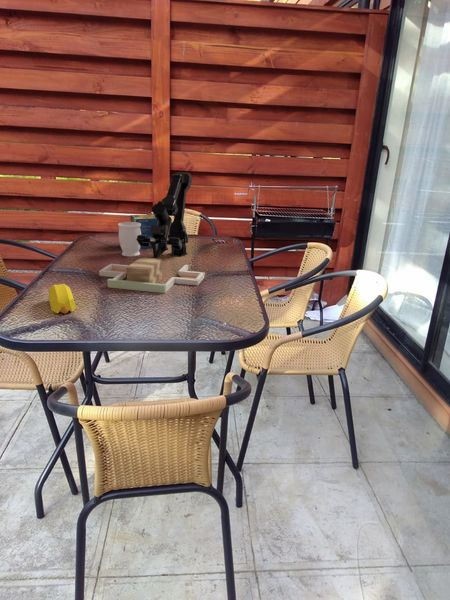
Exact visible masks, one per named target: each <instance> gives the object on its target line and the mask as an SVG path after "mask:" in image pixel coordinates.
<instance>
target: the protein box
mask: <svg viewBox="0 0 450 600" xmlns="http://www.w3.org/2000/svg"><path fill="white" fill-rule="evenodd" d="M130 222H138V223H141V226H140V230H141V235H147V237H148V238H149V239H150V238H154V237H152V234H151V233H150V227H151V225H152V226H157V223H158V221H157V220H156V218H155V216H154V214H153V213H152V214H151V213H149V214H132V215H131V214H130ZM157 246H158V245H157ZM147 249H152V248H151V246H150V244H149V246H148V247H142V246H140V250H147Z"/></svg>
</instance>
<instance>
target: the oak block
mask: <svg viewBox="0 0 450 600" xmlns="http://www.w3.org/2000/svg"><path fill="white" fill-rule="evenodd" d="M126 271H127V274H126V280H127V281H137V282H147V283H157V284H158V282H159V281H161V279H162V278H163V260H162V258H158V259H155V258H154V257H153V258H151V257H145V256H144V257H143V256H142V257H139V258H138V259H136V260H135V261H133V262H132V263H130V264H129V266H128V267H126Z"/></svg>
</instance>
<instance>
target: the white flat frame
mask: <svg viewBox="0 0 450 600" xmlns="http://www.w3.org/2000/svg"><path fill="white" fill-rule="evenodd" d="M129 265H130V264H129ZM129 265H127V264H118V263H110V264H108V265H107V266H105V267H103V268H102V269H100V270H99V271H98V274H99V276H100V277H110V278H107V281H106V282H107V288H110V289H111V288H113V289H121V290H131V291H132V290H133V291H138V292H139V291H140V292H151V293H158V294H166V293H167V292H168V291H169V290H170V289H171V288H172V286H174V285H175V284H178V285H179V284H180V285H191V286H199V285H200V283H201V282H202V281H203V280H204V279H205V277H206V276H205V275H206V272H202V271H193V270H192V271H190V270H189V266H190V265H189V264H184V265H183V266H182V267H181V268H180V269H179V270H178V272H177V273H178V276H179V277H178V276H172V277H171V278H169V279H168V280H167V281H166V283H158V282H157V283H147V282H137V281H127V279H125V278H127V271H126V267H128V266H129ZM111 277H112V278H111ZM124 279H125V280H124Z"/></svg>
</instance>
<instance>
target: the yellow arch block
mask: <svg viewBox="0 0 450 600" xmlns="http://www.w3.org/2000/svg"><path fill="white" fill-rule="evenodd" d="M48 301H49V305H50V309H51V311H52V312H54V313H55V314H56V313H57V314H59V313H62V314H67V313H69V312H71V313H72V312H73V311H74V310H75V309H76V308H77V305H76V302H75V299H74V295H73V293H72V290H71V288H70V286H68V285H66V284H65V283H60V284H53V285H51V287H50V288H49V290H48Z"/></svg>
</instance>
